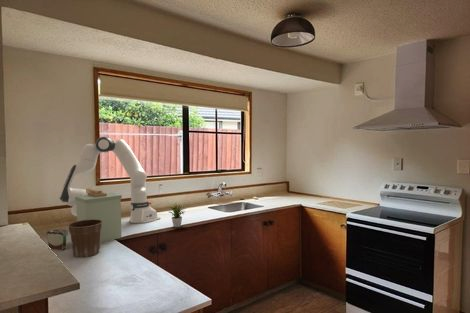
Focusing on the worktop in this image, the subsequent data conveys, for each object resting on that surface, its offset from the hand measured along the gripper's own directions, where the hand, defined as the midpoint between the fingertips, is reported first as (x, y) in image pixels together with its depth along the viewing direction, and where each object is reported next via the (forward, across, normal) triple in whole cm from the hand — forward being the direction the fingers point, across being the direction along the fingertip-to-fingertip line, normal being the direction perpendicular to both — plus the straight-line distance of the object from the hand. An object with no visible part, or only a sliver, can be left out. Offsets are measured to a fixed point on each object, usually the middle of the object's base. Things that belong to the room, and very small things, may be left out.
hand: (88, 194), depth 197 cm
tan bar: (+8, 0, +4) cm, 9 cm away
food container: (+4, -22, +31) cm, 38 cm away
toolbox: (+2, 0, +30) cm, 30 cm away
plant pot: (+21, -15, +41) cm, 48 cm away
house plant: (+11, +48, +36) cm, 61 cm away
